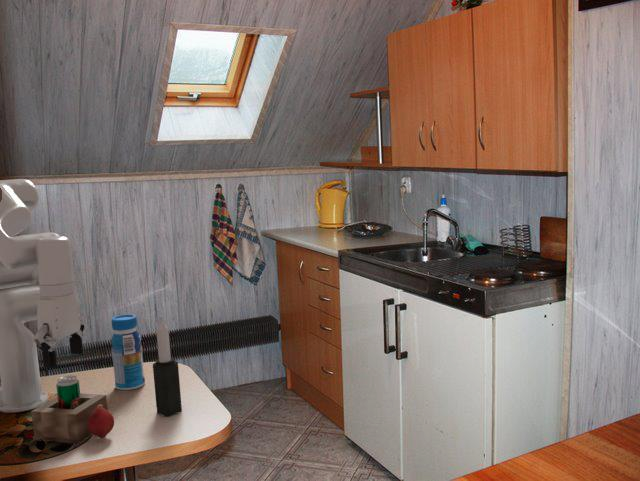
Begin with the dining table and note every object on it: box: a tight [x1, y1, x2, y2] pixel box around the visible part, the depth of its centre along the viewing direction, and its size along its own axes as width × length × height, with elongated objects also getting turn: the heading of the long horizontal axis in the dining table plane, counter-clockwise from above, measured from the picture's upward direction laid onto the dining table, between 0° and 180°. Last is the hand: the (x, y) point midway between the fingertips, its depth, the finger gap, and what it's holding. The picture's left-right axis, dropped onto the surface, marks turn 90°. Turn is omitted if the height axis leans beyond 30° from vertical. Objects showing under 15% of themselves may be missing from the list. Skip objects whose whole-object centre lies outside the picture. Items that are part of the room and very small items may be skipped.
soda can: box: [55, 374, 81, 409], centre depth 158 cm, size 5×5×12 cm
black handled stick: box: [152, 315, 183, 418], centre depth 166 cm, size 5×5×25 cm
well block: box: [30, 392, 109, 445], centre depth 158 cm, size 12×12×7 cm
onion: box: [88, 405, 115, 439], centre depth 153 cm, size 6×6×8 cm
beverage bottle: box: [110, 314, 146, 391], centre depth 187 cm, size 8×8×20 cm
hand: (64, 360), depth 157 cm, fingers open, 9 cm apart
